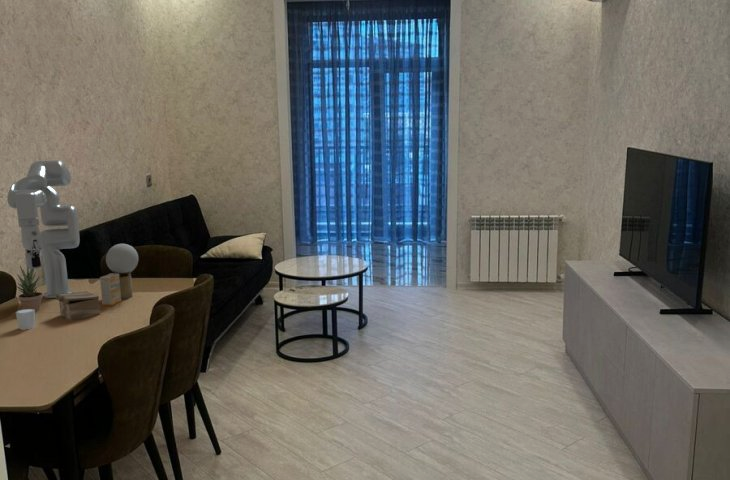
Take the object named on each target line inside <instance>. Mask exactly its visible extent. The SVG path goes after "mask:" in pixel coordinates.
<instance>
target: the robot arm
mask: <svg viewBox="0 0 730 480" xmlns="http://www.w3.org/2000/svg"><path fill="white" fill-rule="evenodd" d="M71 181H72V174H71V171H70V169H69V167H67V166H66V164H65V163H64V162H62V161H61V160H56V159H55V160H36V161H34V162H32V164H31V165H30V167H29V169H28V172H27V175H26V176H25V177H23V178H21V179H19V180H17V181H15V182H14V183H13V184H11V186H10V188H9V190H8V192H7V197H6V199H7V200H6V201H7V204H8V206H9V207H10V208H12V209H16V213H17V222H18V227H19V228H20V230H21V231H20V232H21V233H20V234H21V243H22V247H23V249H24V251H25V253H29V252H31V254H32V258H31V260H32V267H40V266H41V265H42V261H43V268H44V271H43V272H44V276H45V280H44V281H45V287H46V292H44V293H43V298H45V299H57V295H58V294H66V293H74V292H73V290H72V289H69V282H68V281H69V280H68V271H67V262H66V257H65V255H64V254H63V253H62V252H61V250H63V249H64V250H65V249H67V250H68V249H76V248H78V247H79V245H80V241H81V239H80V227H79V226H80V225H79V214H78V213H79V212H78V210H77V208H76V207H75V206H74V205H67V204H66V205H61V200H60V195H59V192H57V191H56V190H55V189H54V188H53V187H66V186H68V185H70V184H71ZM39 208H40V218H39V210H38V209H39ZM39 219H40V220H41V223H42V225H43V226H44V227H63V226H64V227H66V228H51V229H50V228H49V229H44V230H42V231H40V228H39V226H40V220H39ZM33 252H34V253H33ZM39 253H40V254H39ZM41 254H42V261H41V262H40V256H41ZM40 268H41V267H40Z"/></svg>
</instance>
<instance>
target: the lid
mask: <svg viewBox="0 0 730 480" xmlns="http://www.w3.org/2000/svg"><path fill="white" fill-rule="evenodd" d="M96 298H100V297H99V295H96V294H95V293H92V292H89V291H88V290H87V291H86V290H85V291H79V292H73V293H66V294H58V295H57V298H56V300H57V301H58V302H59V301H61V302H63V303H65V304H67V305H69V301H77V300H86V299H96Z"/></svg>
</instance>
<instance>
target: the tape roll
mask: <svg viewBox="0 0 730 480" xmlns="http://www.w3.org/2000/svg"><path fill="white" fill-rule="evenodd" d="M33 253H34V252H33ZM39 254H40V262H41V263H42V259H41V252H40V253H39ZM24 257H25V258H24V259H25V264H26V266H25V267H26V270H27V269H29V270H31V269H34V270H35V269H40V268H42V264H41V266H40V267H32V260H31V258H32V254H31V252H29V253H26V252H25V253H24Z"/></svg>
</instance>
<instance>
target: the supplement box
mask: <svg viewBox="0 0 730 480" xmlns="http://www.w3.org/2000/svg"><path fill="white" fill-rule="evenodd" d="M99 280H100V292H101V293H100V294H101V303H102V306H104V307H105V306H106V307H110V306H111V307H112V306H114V305H116V304H118V303H120V302H122V300H121V291H120V280H119V274H118V273H115V272H113V273H108V274H106V275H103V276H100V277H99Z"/></svg>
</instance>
